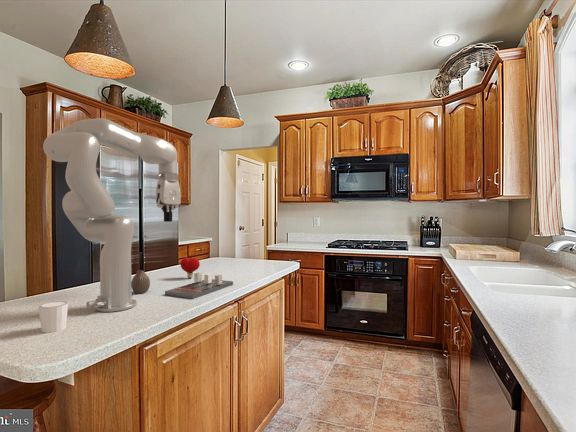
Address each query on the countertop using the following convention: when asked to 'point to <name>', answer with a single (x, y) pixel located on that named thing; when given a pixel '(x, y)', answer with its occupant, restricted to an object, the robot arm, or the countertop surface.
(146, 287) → the vase
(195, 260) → the light bulb
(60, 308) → the white cup
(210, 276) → the handle
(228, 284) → the switch panel
